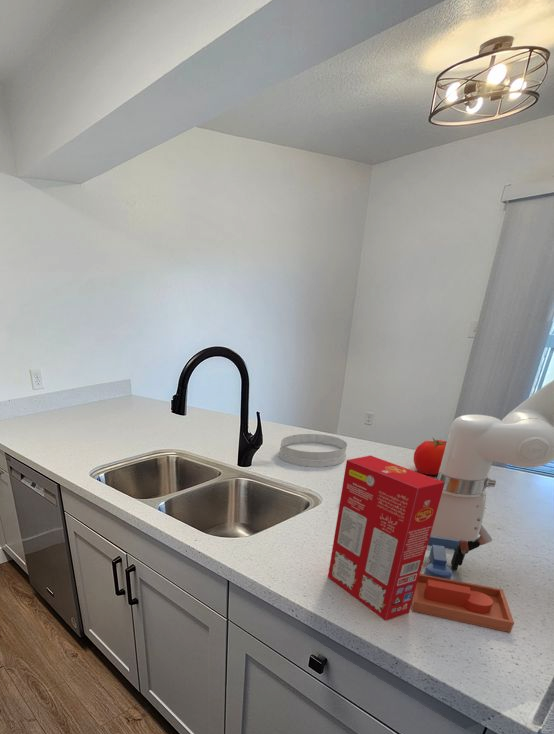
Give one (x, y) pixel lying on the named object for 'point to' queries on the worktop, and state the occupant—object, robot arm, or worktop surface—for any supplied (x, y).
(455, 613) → the terracotta tray
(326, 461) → the light grey ring
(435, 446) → the tomato
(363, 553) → the food packaging
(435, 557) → the slate spoon
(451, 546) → the slate tray
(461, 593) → the terracotta spoon
